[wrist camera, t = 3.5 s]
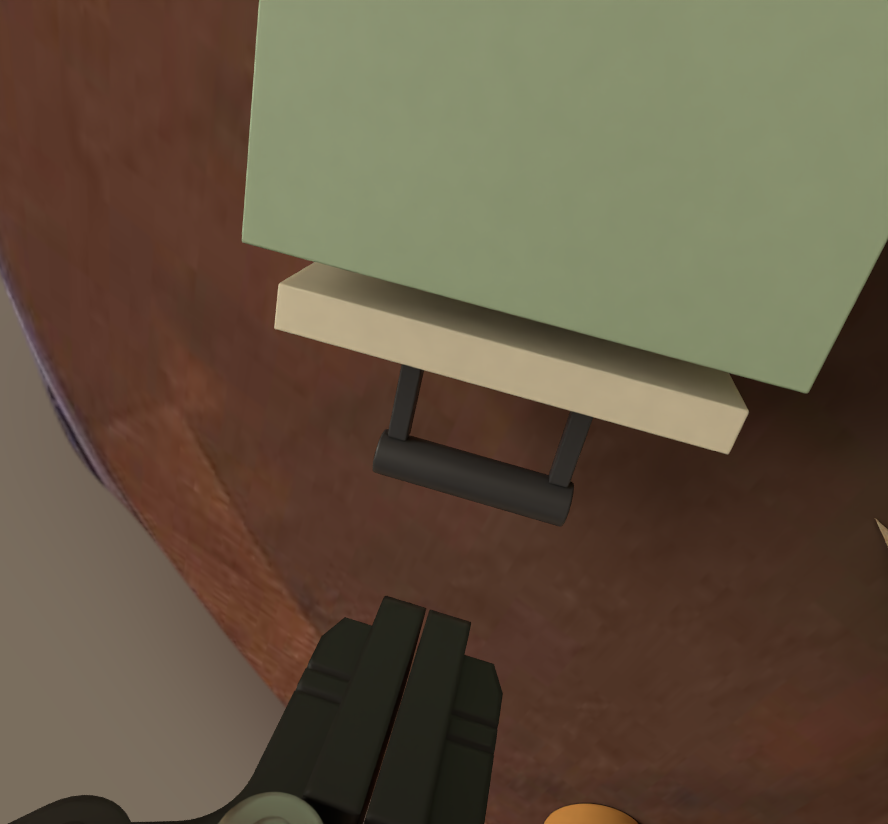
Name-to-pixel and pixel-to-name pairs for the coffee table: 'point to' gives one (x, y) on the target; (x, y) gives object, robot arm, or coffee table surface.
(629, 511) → the coffee table surface
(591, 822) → the pink-topped orange cylinder
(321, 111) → the cabinet
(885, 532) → the ice cream cone
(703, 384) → the drawer
